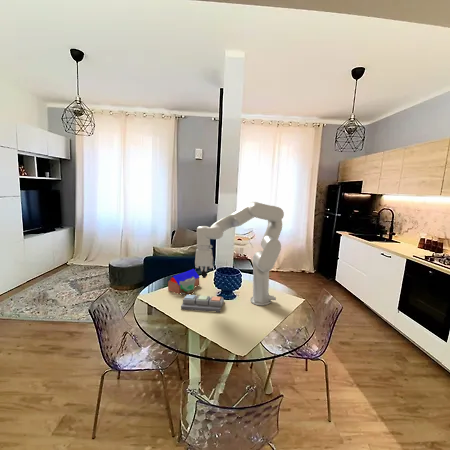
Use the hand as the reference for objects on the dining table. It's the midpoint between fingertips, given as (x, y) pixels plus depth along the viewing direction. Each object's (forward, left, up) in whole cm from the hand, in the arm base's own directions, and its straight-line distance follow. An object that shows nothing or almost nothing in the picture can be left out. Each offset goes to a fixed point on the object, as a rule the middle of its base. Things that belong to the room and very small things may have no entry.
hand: (204, 277), depth 151 cm
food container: (+14, -14, -18) cm, 26 cm away
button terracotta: (-7, +1, -15) cm, 17 cm away
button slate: (+9, +1, -15) cm, 17 cm away
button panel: (+1, +1, -17) cm, 17 cm away
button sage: (+1, +1, -15) cm, 15 cm away
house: (+21, -23, -18) cm, 36 cm away
